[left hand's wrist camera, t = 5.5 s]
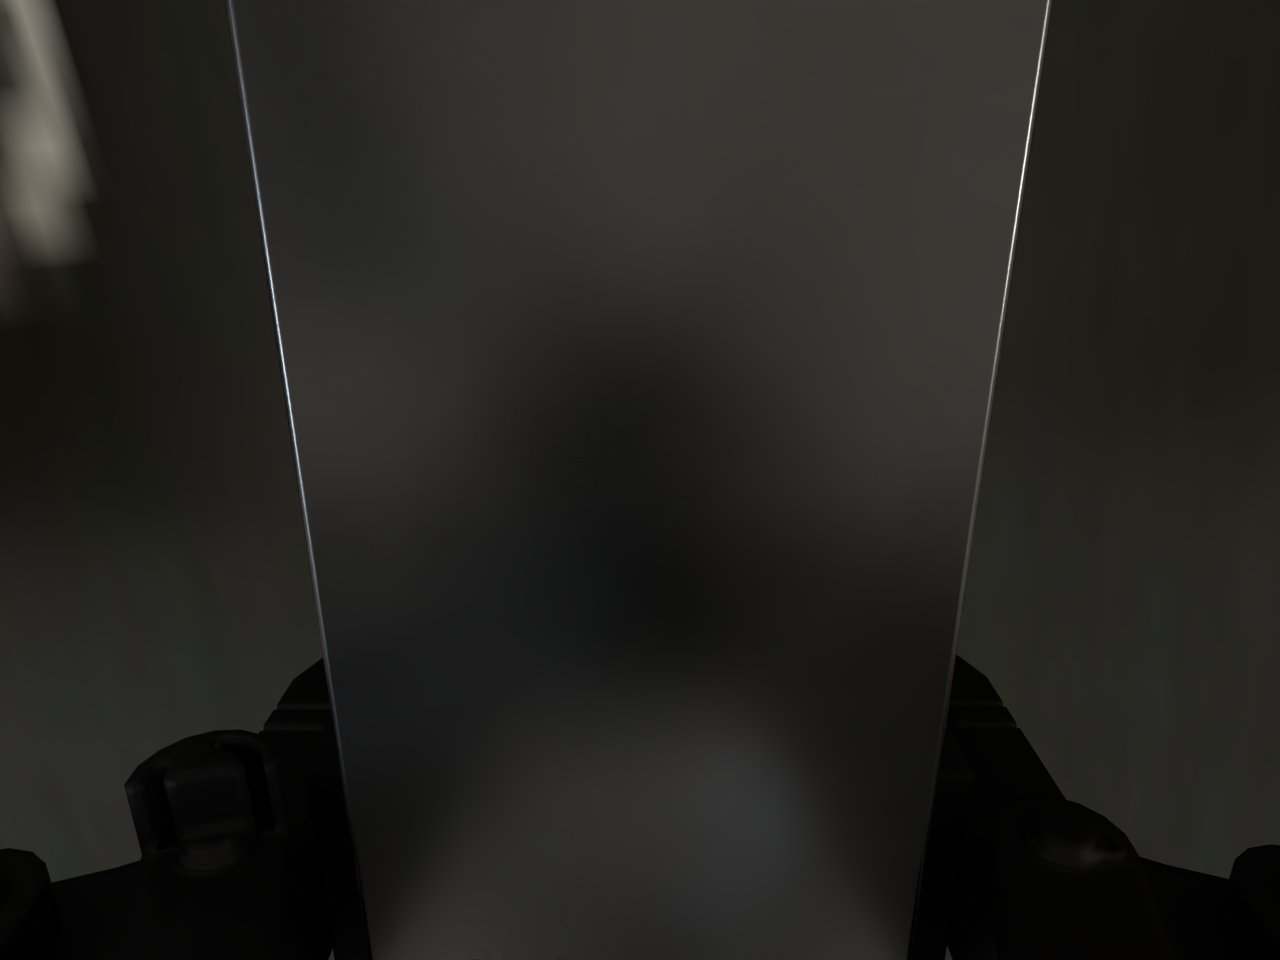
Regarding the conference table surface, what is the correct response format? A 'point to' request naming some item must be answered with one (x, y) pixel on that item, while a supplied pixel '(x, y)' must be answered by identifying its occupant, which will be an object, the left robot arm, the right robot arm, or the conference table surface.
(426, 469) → the bar
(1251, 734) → the conference table surface
